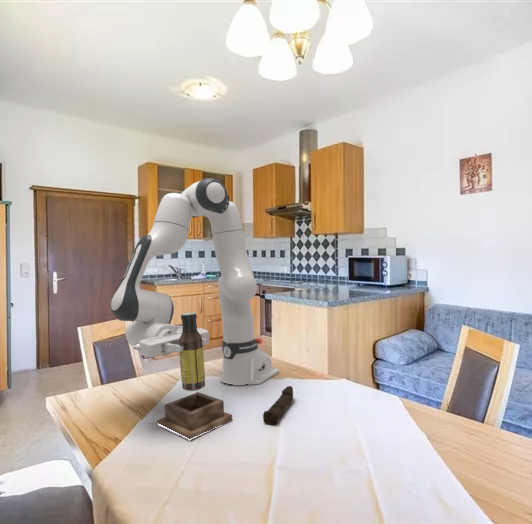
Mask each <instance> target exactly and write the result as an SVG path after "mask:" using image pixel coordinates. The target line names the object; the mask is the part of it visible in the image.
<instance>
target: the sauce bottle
mask: <svg viewBox="0 0 532 524" xmlns="http://www.w3.org/2000/svg"><path fill="white" fill-rule="evenodd" d="M197 318H198V317H197V313H196V312H194V311H193V312H192V311H191V312H183V313H181V314H180V320H181V323H182V327H183V328H182V330H183V333H182V335H181V336H180V339H179V344H181V345H183V347H184V348H183V349H184V351H183V352H179V365H180V378H181V383H182V385H181V388H182V389H183V390H184V391H188V392H192V391H198V390H201V389H203V388H204V387H205V386H206V381H205V380H206V372H205V360H204V359H205V357H204V346H202V337H201V335H200V334H199V332H198V331H197V328H198V326H197V325H198V324H197Z"/></svg>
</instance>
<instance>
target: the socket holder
mask: <svg viewBox="0 0 532 524" xmlns="http://www.w3.org/2000/svg"><path fill="white" fill-rule="evenodd" d="M224 403H225V402H224V400H223V399H220V398H216V397H213V396H211V395H208V394H205V393H202V392H199V391H197V392H194V393H191V394H189V395H186V396H183V397H181V398H178V399H176V400H173V401H170V402H169V403H166V404H164V417H162V418H160V419H157V423H159V424H161V425H163V426H165V427H167V428H169V429H171V430H173V431H175V432H177V433H179V434H181V435H183V436H185V437H187V438H189V439H191V438H193V437H195V436H198V435H200V434H202V433H204V432H207V431H209V430H211V429H213V428H215V427H218V426H220V425H222V424H224V423H226V422H228V423H230V422H232V421H233V414H231V413H228V412H225V404H224ZM231 420H232V421H231ZM229 421H230V422H229ZM157 423H156V424H157ZM226 424H227V423H226ZM224 425H225V424H224ZM222 426H223V425H222ZM220 427H221V426H220ZM218 428H219V427H218Z"/></svg>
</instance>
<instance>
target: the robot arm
mask: <svg viewBox="0 0 532 524" xmlns="http://www.w3.org/2000/svg"><path fill="white" fill-rule="evenodd" d="M202 216H206V217H207V219H208V220H209V223H210V228H211V234H212V240H213V241H212V242H213V248H214V253H215V258H216V260H217V264H218V268H219V271H220V277H219V279H218V282H217V289H218V297H219V305H220V307H219V308H220V312H221V319H222V321H221V322H222V323H221V324H222V338H223V339H222V342H221V343H222V345H221V346H222V354H223V355H222V357H223V358H222V367H221V376H220V379H221V381H222V382H224V383H227V384H226V385H228V384H233V385H232V386H247V385H246V384H248V385H261V384H262V383H264V382H266V381H267V380H269V379H270V378H272V377H273V376H275V375H276V374H278V373H279V372H280V370H279V369H278V368H277V367H275V366H273V363H272V358H271V356H270V355H269V354H267V353H266V352H264V351H263V350H262V349H260V348H259V346H258V345H262V344H263V339H262V338H259V337H257V338H255V333H254V332H255V330H254V329H255V328H254V327H255V326H254V316H253V313H252V312H253V311H252V309H251V304H250V300H252V299H253V298H254V297H255V296H256V294H257V290H258V284H257V281H256V279H255V276H254V272H253V268H252V266H251V262H250V259H249V255H248V252H247V247H246V240H245V239H246V238H245V234H244V228H243V222H242V218H241V214H240V211H239V209H238V206H237V204H235V203H234V202H233V201H230V196H229V194H228V191H227V188H226V186H225V184H223V183H222V181H220V180H219V179H217V178H213V177H207V178H204V179H201V180H199V181H196V182H193V183H191V185H190V186H188V187H186V188H184V189H183V190H182V191H181V192H180V193H178V192H169V193H167V194H165V195H164V196H163V197H162V198H161V201H160V203H159V205H158V208H157V211H156V213H155V217H154V220H153V224H152V227H151V229H150V231H149V233H148V234H146V235H143V236H141V237H140V239H139V240H138V241H137V244H136V245H135V248H134V250H133V252H132V253H131V257H130V259H129V262H128V264H127V266H126V268H125V270H124V274H123V276H122V278H121V281H120V283H119V284H118V287H117V288H116V289H115V291H114V293H113V295H112V297H111V299H110V306H109V307H110V310H111V313H112V314H113V315H114V317H115V318H116V319H117V320H119V321H121V322H131V323H129V324H128V325H127V327H126V329H125V332H124V333H125V338H126V340H127V341H126V342H128V344H129V345H130V346H132V348H133V350H135V351H139V355H141V356H143V357H146V358H155V357H161V356H163V357H166V356H169V355H171V354H173V353H179V352H183V351H184V349H183V348H184V347H183V345H181V344H179V339H180V336H181V335H182V333H183V330H182V328H183V327H182V324H171V323H172V320H173V317H174V311H175V306H174V302H173V300H172V298H171V296H170V295H169V294H167V293H163V292H158V291H154V290H153V291H152V290H147V289H144V288H140V284H141V282H142V278H143V276H144V274H145V272H146V268H147V266H148V263H150V261H151V260H152V259H153V258H156V257H158V256H165V255H171V254H175V253H177V252H179V251H180V250H182V248H184V246H185V244H186V243H187V239H188V235H189V229H190V224H191V221H192V218H200V217H202ZM197 331H198V332H199V334H200V335H201V337H202V346H203V347H205V346H207V344H209V343H210V332H209V330H207V329H205V328H200V327H197ZM179 354H180V353H179ZM221 381H220V382H221ZM222 382H221V383H222ZM224 383H223V384H224Z"/></svg>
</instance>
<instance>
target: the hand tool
mask: <svg viewBox="0 0 532 524" xmlns="http://www.w3.org/2000/svg"><path fill="white" fill-rule="evenodd" d="M293 400H294V390H293V386H291V385H287V386H286V387H285V388H284V389H282V391H281V394H280V397H279V398H278V399H277V400H276V401H275V402H274V403H273V404H272V405H271V406H270V408H268V410H266V411H265V410H264V412H263V414H262V416H263V422H264V424H265V425H269V426H277V424H278V422H279V421H280V417H282V415H283V413H285V411H286V410H287V409H288V407H291V405H292V404H293Z"/></svg>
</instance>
